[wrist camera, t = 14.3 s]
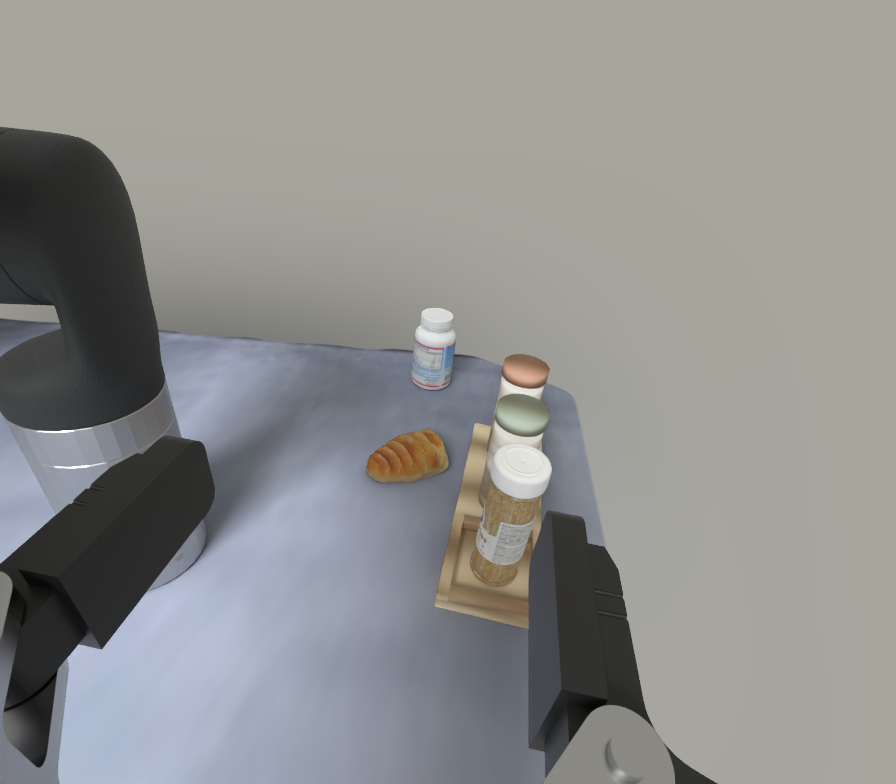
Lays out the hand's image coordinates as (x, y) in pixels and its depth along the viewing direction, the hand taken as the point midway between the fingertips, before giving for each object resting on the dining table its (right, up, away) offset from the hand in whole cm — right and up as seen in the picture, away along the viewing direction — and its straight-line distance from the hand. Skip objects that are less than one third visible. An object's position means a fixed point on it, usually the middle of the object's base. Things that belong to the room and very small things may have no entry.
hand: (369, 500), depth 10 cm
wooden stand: (+7, -10, +40) cm, 41 cm away
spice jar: (+6, -14, +32) cm, 35 cm away
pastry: (-3, -7, +44) cm, 44 cm away
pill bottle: (-1, +4, +60) cm, 60 cm away
